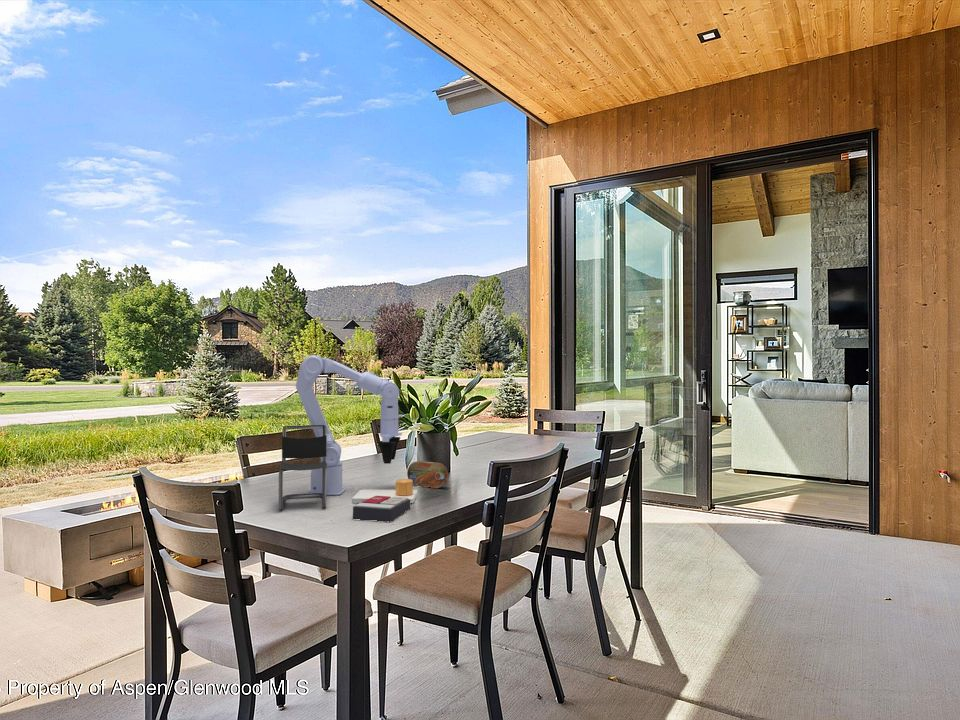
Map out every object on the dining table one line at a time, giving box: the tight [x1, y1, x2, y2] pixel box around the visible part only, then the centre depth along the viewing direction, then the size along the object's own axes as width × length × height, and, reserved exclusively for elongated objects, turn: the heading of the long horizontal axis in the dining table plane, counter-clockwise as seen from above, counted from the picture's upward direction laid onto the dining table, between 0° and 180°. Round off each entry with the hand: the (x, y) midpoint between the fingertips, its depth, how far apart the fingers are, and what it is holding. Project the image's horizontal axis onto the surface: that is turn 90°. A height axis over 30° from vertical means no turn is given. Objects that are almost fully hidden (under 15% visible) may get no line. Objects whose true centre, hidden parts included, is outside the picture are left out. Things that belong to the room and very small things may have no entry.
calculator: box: [352, 496, 411, 523], centre depth 166 cm, size 11×4×15 cm
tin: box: [406, 460, 449, 489], centre depth 201 cm, size 15×3×8 cm, turn 62°
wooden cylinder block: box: [395, 478, 414, 495], centre depth 183 cm, size 5×5×4 cm
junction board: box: [351, 489, 419, 504], centre depth 183 cm, size 18×12×5 cm, turn 89°
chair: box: [278, 424, 327, 511], centre depth 176 cm, size 13×17×22 cm
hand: (389, 461), depth 195 cm, fingers open, 7 cm apart
